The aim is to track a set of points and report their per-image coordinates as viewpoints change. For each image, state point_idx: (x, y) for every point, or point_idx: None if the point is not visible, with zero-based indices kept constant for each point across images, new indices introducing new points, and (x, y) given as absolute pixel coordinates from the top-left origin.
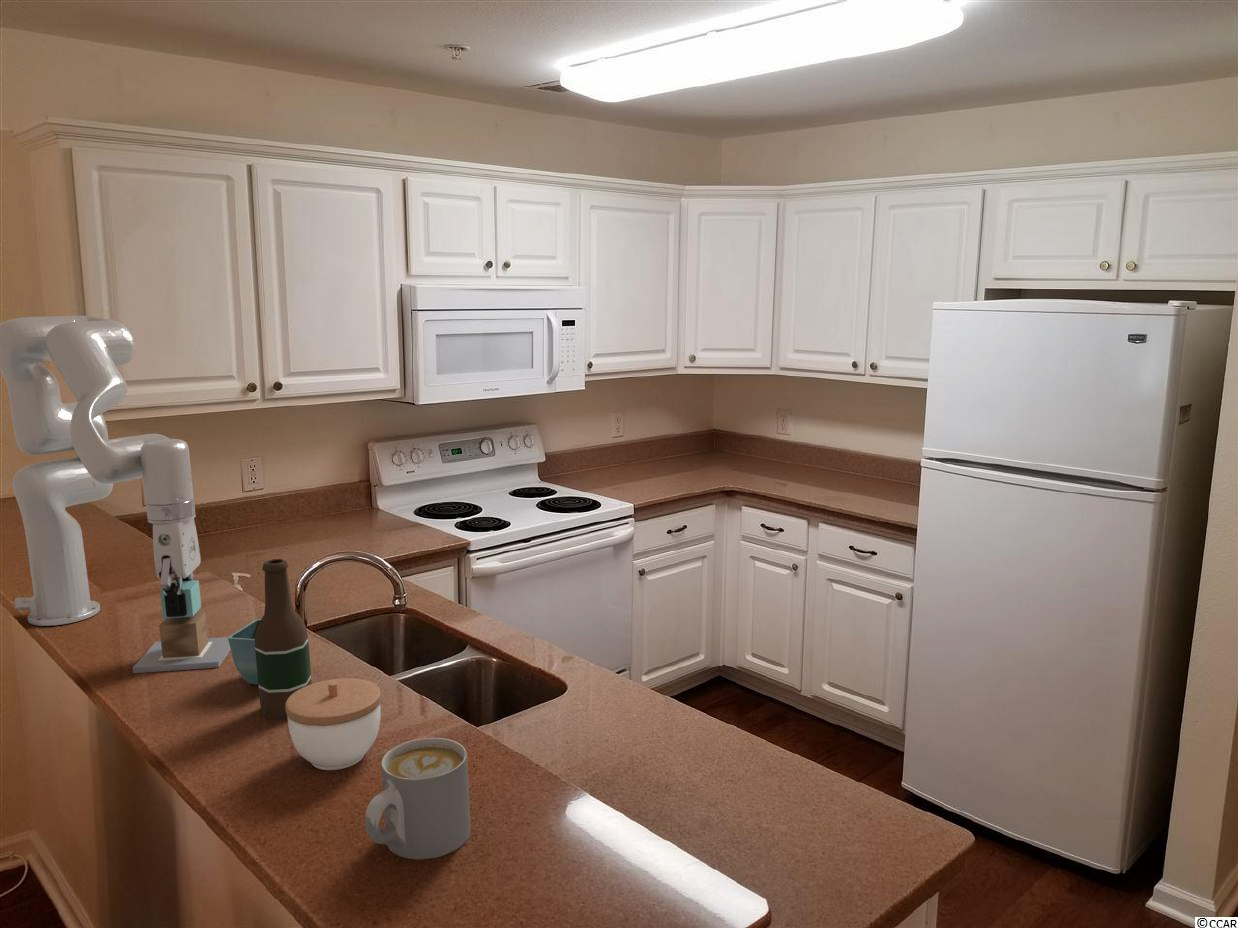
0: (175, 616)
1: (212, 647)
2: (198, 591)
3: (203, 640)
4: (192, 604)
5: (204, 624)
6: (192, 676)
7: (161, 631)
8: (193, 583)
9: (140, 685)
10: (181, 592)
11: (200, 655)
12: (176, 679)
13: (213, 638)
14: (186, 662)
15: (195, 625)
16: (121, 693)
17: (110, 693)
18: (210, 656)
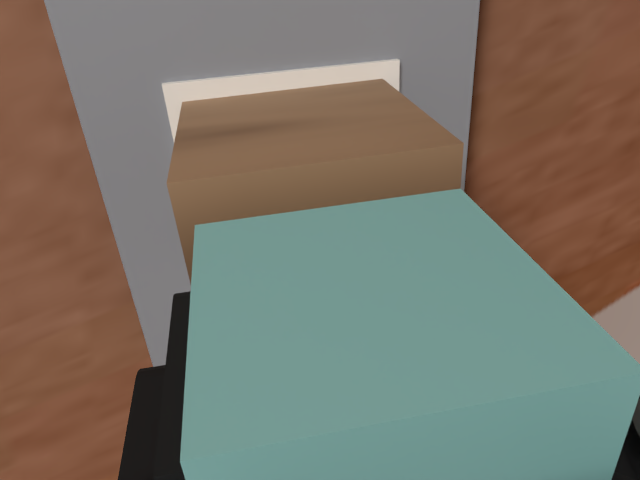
0: None
1: (241, 50)
2: (246, 328)
3: (277, 105)
4: (501, 243)
5: (222, 141)
6: (553, 34)
7: None
8: (358, 452)
9: (575, 224)
10: (637, 423)
11: (380, 71)
12: (563, 101)
13: (85, 103)
14: (449, 115)
15: (457, 140)
16: (625, 255)
17: (610, 290)
18: (388, 7)
